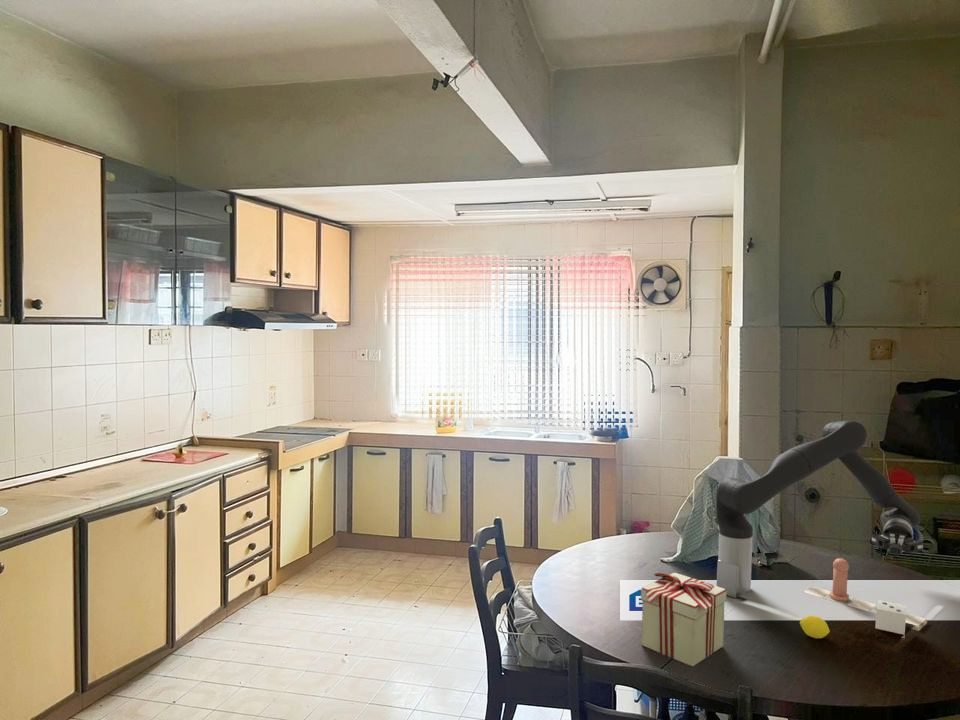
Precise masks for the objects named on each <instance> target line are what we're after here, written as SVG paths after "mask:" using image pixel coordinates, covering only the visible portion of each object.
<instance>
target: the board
mask: <svg viewBox="0 0 960 720" xmlns="http://www.w3.org/2000/svg"><path fill="white" fill-rule="evenodd" d="M830 592H831V591H830V590H826V589H823V588H820V587H816V586H810V587H809V588H807V589H805V590H804V591H803V593H805V594H808V595H811V596H815V597H818V598H821V599H823V598H824V599H825V600H828V601H832V602H835V603H839V604H842V605H846V606H849V607H852V608H855V609H859V610H862V611H865V612H869V613H872V614H875V615H876V608H877V603H872V602H868V601H865V600H861V599H859V598H855V597H852V596H849V601H847V602H840V601H836V600H833V599H831V598H830ZM905 624H909V625H913V626H912V627H911V630H914V631H917V632H919V631H921V629H923V627H924V626H926V625H927V624H928V619H927V618H925V617H921V616H917V615H914V614H911V613H907V612H906V623H905Z"/></svg>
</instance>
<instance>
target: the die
mask: <svg viewBox="0 0 960 720" xmlns="http://www.w3.org/2000/svg"><path fill="white" fill-rule="evenodd" d="M876 607H877V608H876ZM876 607H875V608H876V614H875V629H877V630H881V631H886V632H890V633H895V634H900V635H903V636H902V637H901V638H904V639H905V636H906V634H905V633H906V624H907V623H906V613H907V605H906V604H900V603H896V602H890V601H885V600H881V599H880V600H879V599H877V603H876Z"/></svg>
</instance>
